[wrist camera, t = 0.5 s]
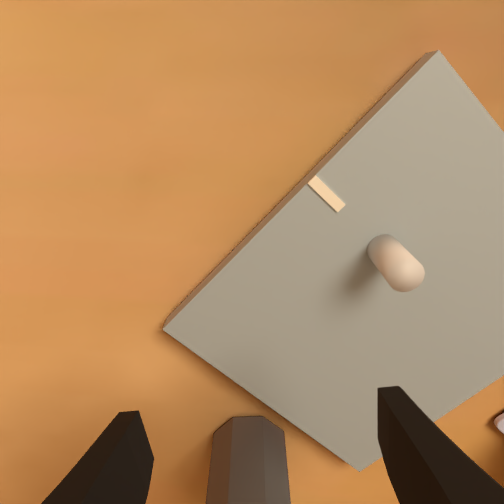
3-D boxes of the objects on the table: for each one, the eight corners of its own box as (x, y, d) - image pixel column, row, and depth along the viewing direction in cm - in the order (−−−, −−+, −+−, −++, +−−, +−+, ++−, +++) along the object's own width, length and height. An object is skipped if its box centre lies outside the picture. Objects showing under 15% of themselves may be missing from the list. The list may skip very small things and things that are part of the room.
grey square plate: (607, 280, 20) (692, 324, 16) (354, 455, 25) (373, 520, 21) (425, 53, 16) (481, 38, 12) (167, 317, 21) (147, 367, 17)
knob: (298, 441, 25) (312, 543, 19) (251, 476, 26) (250, 581, 20) (247, 405, 23) (245, 502, 18) (200, 443, 25) (185, 546, 19)
